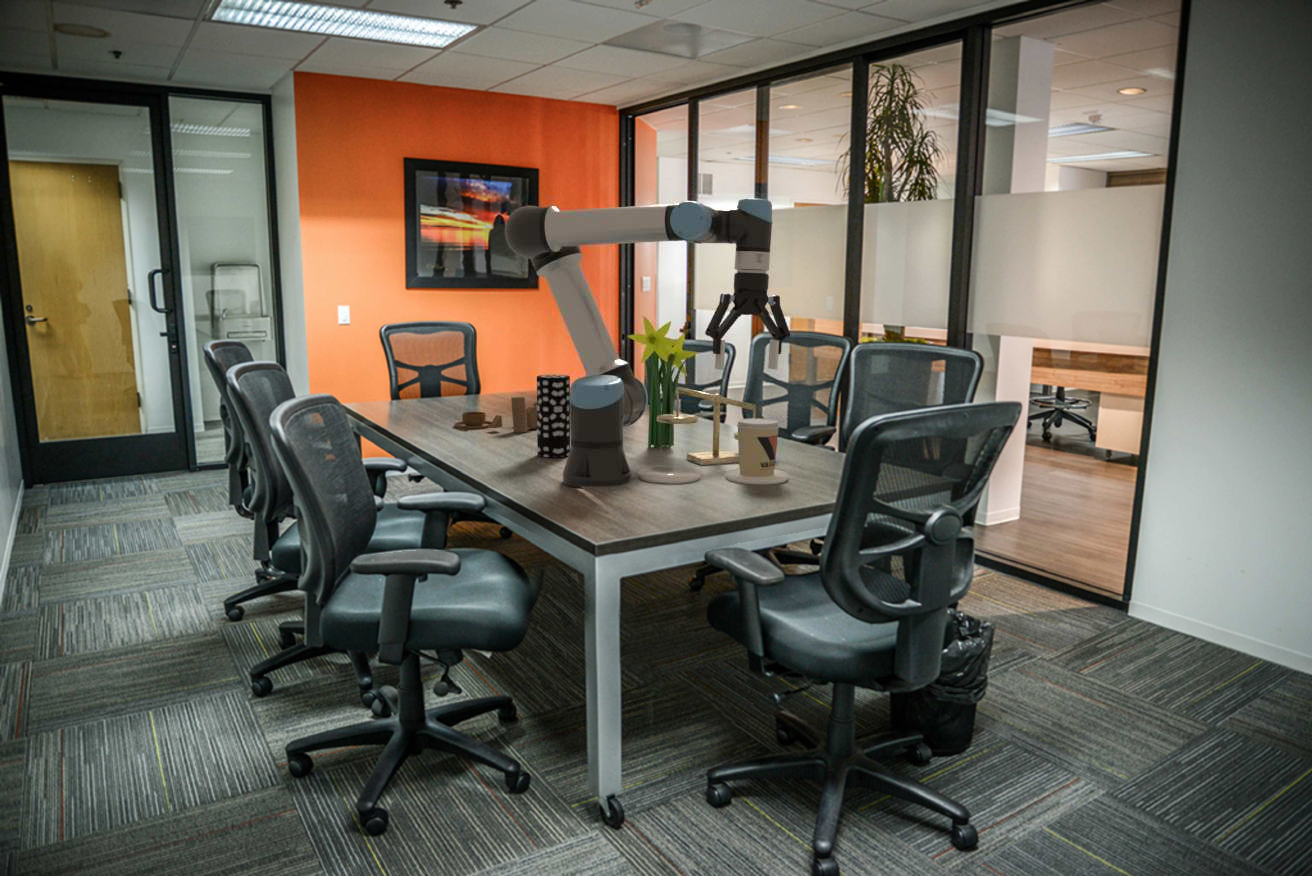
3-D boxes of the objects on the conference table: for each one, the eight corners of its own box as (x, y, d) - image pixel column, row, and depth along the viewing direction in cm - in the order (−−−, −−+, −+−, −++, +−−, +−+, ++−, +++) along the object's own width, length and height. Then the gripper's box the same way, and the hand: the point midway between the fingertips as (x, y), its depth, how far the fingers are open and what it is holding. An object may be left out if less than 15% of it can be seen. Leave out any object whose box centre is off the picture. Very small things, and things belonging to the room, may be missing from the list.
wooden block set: (540, 426, 274) (537, 393, 273) (556, 428, 267) (553, 394, 266) (488, 433, 262) (485, 398, 261) (504, 435, 256) (501, 399, 254)
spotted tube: (531, 455, 226) (530, 377, 222) (547, 450, 233) (546, 374, 230) (560, 458, 223) (560, 378, 219) (575, 453, 230) (575, 375, 227)
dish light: (653, 485, 193) (653, 481, 193) (629, 473, 205) (629, 469, 205) (711, 480, 198) (711, 476, 198) (684, 469, 211) (684, 464, 211)
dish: (744, 486, 193) (744, 482, 193) (714, 474, 205) (714, 470, 205) (799, 481, 198) (800, 477, 198) (767, 470, 211) (767, 465, 211)
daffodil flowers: (665, 441, 250) (666, 315, 244) (703, 448, 240) (705, 316, 234) (619, 447, 239) (620, 315, 233) (657, 455, 228) (659, 317, 222)
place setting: (477, 423, 282) (476, 405, 281) (529, 428, 273) (529, 409, 272) (440, 431, 267) (439, 411, 266) (494, 436, 258) (494, 416, 257)
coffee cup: (764, 479, 195) (765, 425, 193) (728, 474, 201) (729, 421, 199) (785, 473, 203) (786, 420, 201) (749, 467, 208) (751, 416, 206)
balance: (666, 468, 211) (667, 389, 208) (649, 461, 220) (650, 385, 217) (780, 459, 224) (782, 385, 221) (760, 453, 233) (762, 381, 230)
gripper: (708, 269, 186) (703, 371, 190) (809, 274, 197) (803, 370, 200) (692, 269, 193) (688, 367, 197) (791, 274, 203) (785, 367, 207)
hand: (746, 369), depth 199 cm, fingers open, 13 cm apart
